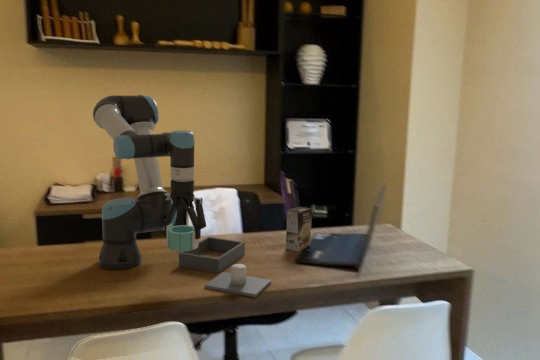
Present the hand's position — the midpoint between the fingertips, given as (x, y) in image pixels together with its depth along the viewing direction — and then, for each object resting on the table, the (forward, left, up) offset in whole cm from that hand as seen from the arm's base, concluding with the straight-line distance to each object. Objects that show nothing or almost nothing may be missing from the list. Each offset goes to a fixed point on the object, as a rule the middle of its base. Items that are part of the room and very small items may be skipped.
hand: (182, 245), depth 175 cm
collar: (0, 0, 0) cm, 0 cm away
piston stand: (+18, +5, -12) cm, 23 cm away
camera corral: (-1, +23, -12) cm, 26 cm away
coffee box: (+23, +51, -13) cm, 57 cm away
